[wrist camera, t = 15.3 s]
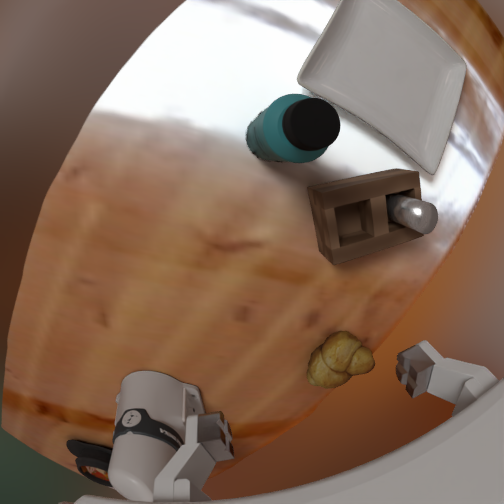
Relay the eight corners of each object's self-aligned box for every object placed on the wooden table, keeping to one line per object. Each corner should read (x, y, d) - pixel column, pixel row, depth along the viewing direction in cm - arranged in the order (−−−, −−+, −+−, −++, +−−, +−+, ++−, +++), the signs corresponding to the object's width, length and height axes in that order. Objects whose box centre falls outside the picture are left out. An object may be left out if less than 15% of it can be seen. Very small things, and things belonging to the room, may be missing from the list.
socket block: (402, 226, 43) (423, 235, 38) (319, 251, 43) (333, 265, 37) (396, 168, 40) (418, 171, 34) (307, 187, 39) (321, 192, 34)
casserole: (68, 450, 55) (62, 470, 48) (67, 425, 51) (59, 448, 43) (141, 478, 62) (138, 498, 54) (152, 458, 57) (150, 482, 49)
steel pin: (398, 214, 40) (438, 230, 31) (378, 219, 40) (416, 237, 31) (396, 190, 39) (437, 200, 29) (375, 194, 39) (414, 205, 29)
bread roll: (317, 382, 52) (329, 409, 45) (287, 362, 49) (297, 392, 42) (365, 341, 50) (384, 366, 43) (339, 317, 47) (358, 342, 40)
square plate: (456, 66, 34) (469, 63, 31) (421, 175, 41) (435, 178, 37) (347, -20, 28) (356, -29, 24) (287, 87, 35) (295, 80, 31)
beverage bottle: (268, 107, 35) (317, 62, 16) (299, 142, 37) (373, 131, 18) (233, 136, 36) (249, 113, 17) (265, 171, 38) (313, 185, 19)
